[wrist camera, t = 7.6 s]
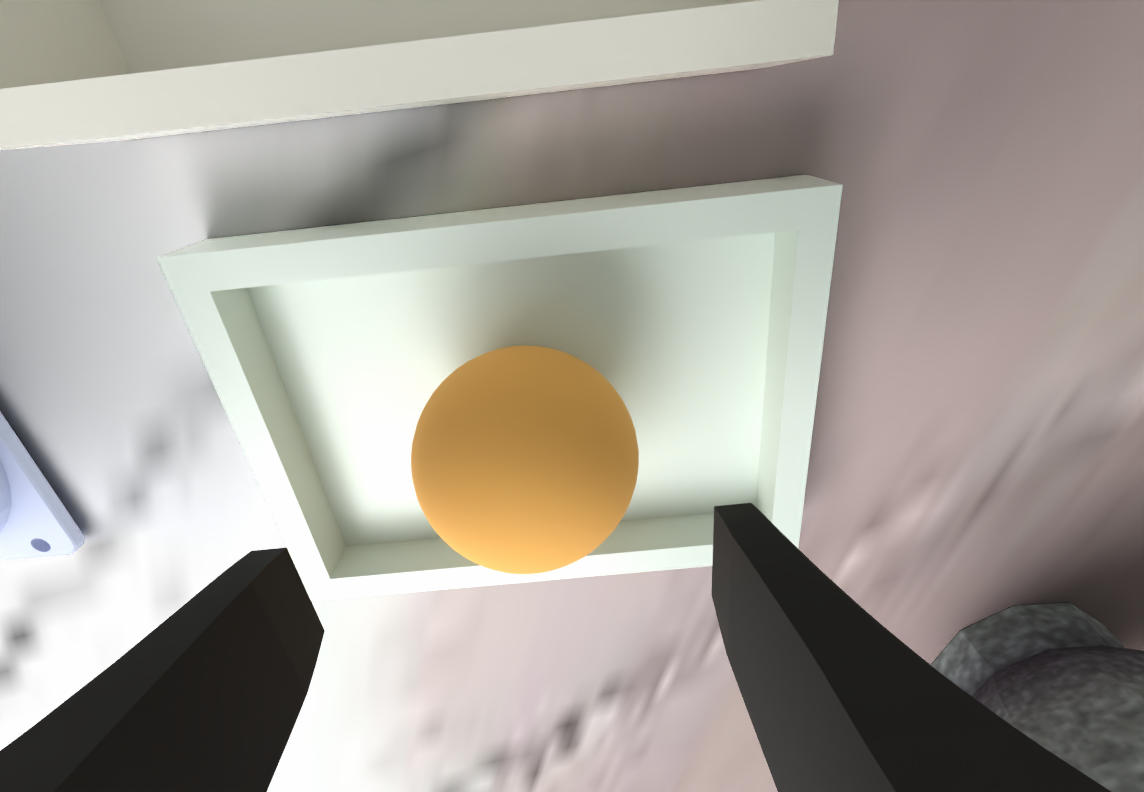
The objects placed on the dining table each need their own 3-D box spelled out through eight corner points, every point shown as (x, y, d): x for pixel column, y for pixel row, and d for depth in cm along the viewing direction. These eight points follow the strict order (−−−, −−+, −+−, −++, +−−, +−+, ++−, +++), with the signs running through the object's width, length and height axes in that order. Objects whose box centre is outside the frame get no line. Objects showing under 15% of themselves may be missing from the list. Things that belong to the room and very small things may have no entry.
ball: (456, 491, 16) (423, 641, 11) (411, 328, 13) (347, 436, 9) (629, 468, 16) (664, 610, 11) (614, 301, 13) (650, 396, 9)
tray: (333, 556, 18) (311, 601, 16) (205, 238, 13) (155, 257, 11) (774, 516, 17) (796, 558, 16) (806, 174, 13) (842, 184, 11)
